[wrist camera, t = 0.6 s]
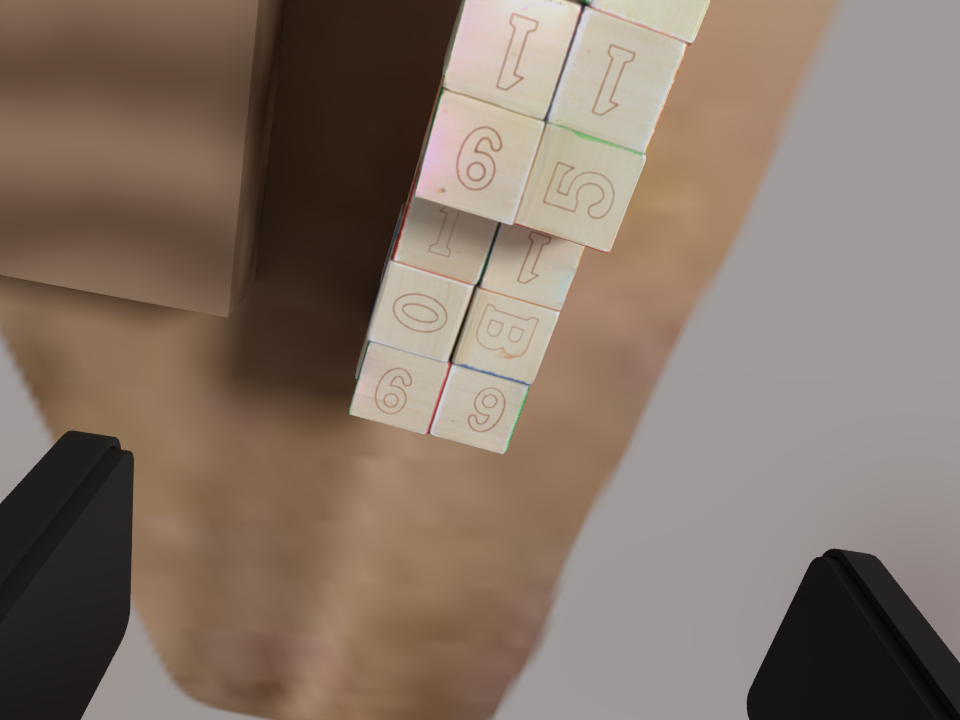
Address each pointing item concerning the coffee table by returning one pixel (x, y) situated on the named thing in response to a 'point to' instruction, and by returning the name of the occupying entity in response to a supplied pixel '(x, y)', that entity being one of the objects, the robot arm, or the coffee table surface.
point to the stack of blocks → (512, 202)
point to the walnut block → (137, 145)
